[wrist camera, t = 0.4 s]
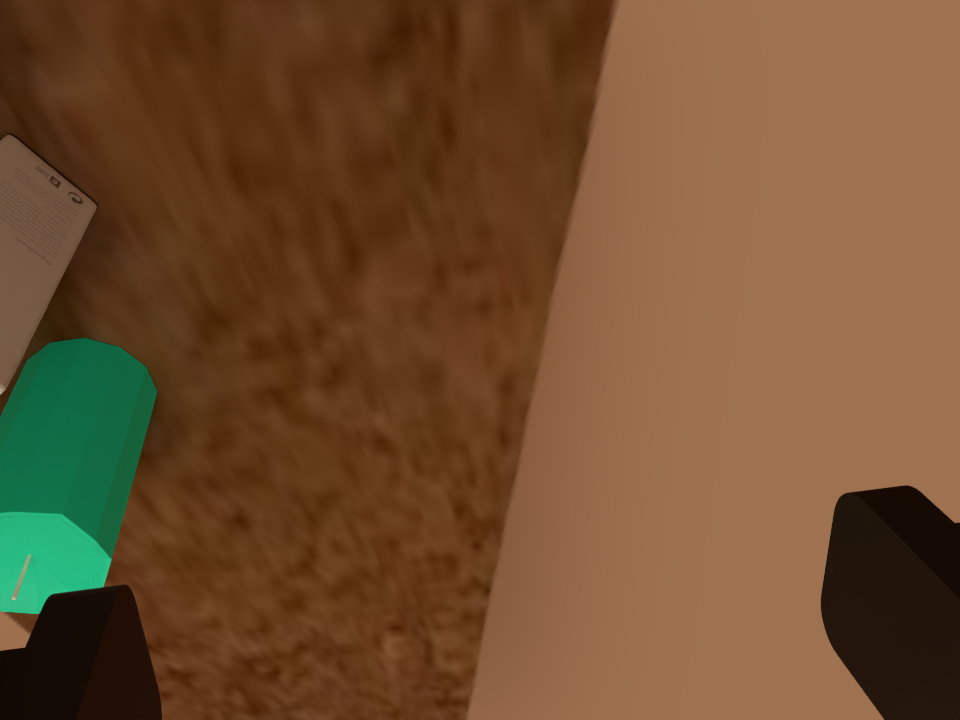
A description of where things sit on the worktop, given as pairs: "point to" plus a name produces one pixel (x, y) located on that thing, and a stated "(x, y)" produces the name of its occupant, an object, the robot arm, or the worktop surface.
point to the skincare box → (32, 244)
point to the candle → (68, 468)
